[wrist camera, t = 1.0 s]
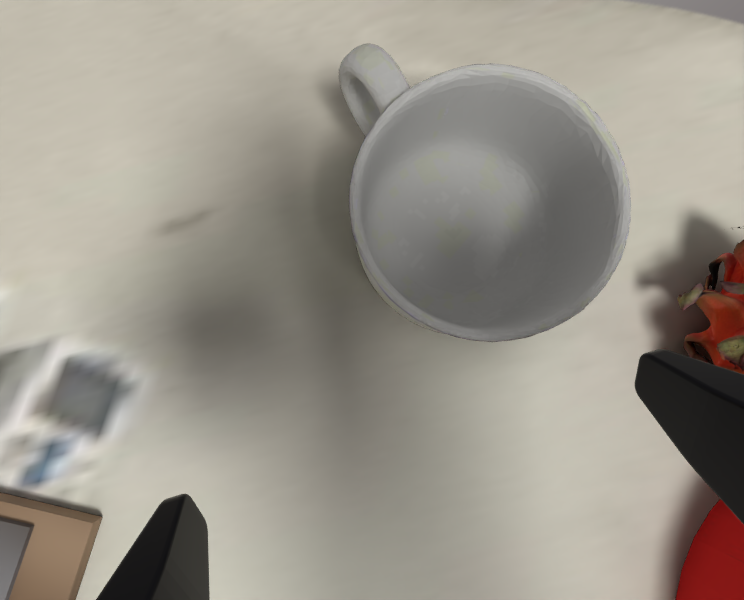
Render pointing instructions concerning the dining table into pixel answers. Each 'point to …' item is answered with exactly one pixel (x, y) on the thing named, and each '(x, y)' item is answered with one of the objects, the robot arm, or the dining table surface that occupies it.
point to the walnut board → (43, 549)
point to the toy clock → (715, 559)
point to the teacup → (482, 196)
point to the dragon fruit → (720, 313)
